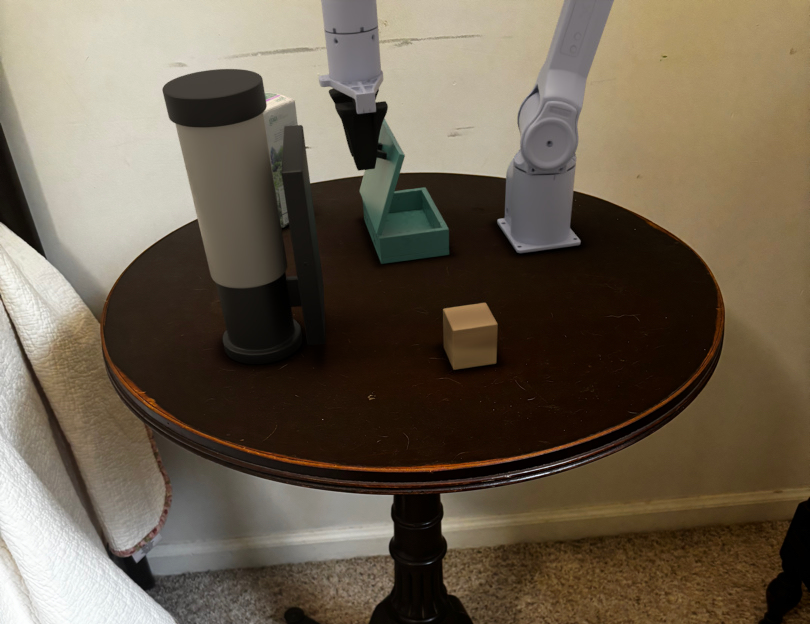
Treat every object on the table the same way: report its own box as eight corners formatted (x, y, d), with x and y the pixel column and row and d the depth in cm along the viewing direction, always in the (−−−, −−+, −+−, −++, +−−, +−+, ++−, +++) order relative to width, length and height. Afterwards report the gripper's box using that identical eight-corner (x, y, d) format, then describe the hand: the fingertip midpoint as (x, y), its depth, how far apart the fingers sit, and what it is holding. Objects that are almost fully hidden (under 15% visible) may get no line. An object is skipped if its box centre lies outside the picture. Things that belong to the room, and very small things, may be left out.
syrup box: (278, 206, 110) (259, 89, 100) (310, 214, 107) (295, 96, 97) (249, 221, 107) (227, 102, 97) (282, 230, 104) (262, 109, 94)
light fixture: (228, 318, 88) (171, 67, 71) (326, 309, 89) (294, 57, 71) (219, 378, 80) (152, 109, 62) (329, 368, 80) (292, 98, 63)
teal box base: (426, 211, 106) (425, 187, 104) (449, 254, 97) (449, 228, 95) (364, 219, 105) (362, 195, 103) (381, 264, 96) (379, 238, 94)
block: (443, 347, 82) (442, 308, 79) (485, 341, 82) (485, 302, 79) (453, 370, 79) (453, 330, 76) (496, 363, 79) (497, 323, 76)
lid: (384, 117, 97) (355, 109, 96) (405, 155, 88) (373, 146, 87) (364, 192, 103) (336, 185, 102) (381, 235, 94) (351, 228, 92)
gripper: (306, 16, 89) (322, 145, 99) (321, 48, 79) (337, 188, 88) (368, 9, 90) (378, 138, 99) (391, 41, 80) (399, 180, 89)
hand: (362, 161), depth 94 cm, fingers closed on lid, 4 cm apart
